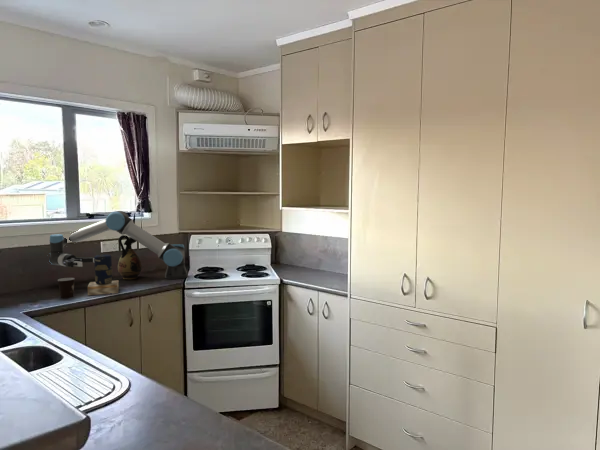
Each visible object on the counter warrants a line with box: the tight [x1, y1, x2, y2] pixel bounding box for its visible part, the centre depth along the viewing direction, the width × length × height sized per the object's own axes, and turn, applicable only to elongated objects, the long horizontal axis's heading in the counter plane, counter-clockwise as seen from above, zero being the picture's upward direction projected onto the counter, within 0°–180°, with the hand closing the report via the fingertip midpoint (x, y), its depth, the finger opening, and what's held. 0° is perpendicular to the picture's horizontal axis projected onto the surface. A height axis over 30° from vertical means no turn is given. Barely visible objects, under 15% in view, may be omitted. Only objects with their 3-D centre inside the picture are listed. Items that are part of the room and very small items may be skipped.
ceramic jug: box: [117, 234, 143, 280], centre depth 306 cm, size 17×15×30 cm
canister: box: [93, 253, 113, 284], centre depth 266 cm, size 10×10×18 cm
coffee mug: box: [57, 277, 75, 299], centre depth 257 cm, size 12×9×10 cm
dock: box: [87, 279, 120, 296], centre depth 267 cm, size 16×14×5 cm
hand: (91, 262), depth 271 cm, fingers open, 13 cm apart
